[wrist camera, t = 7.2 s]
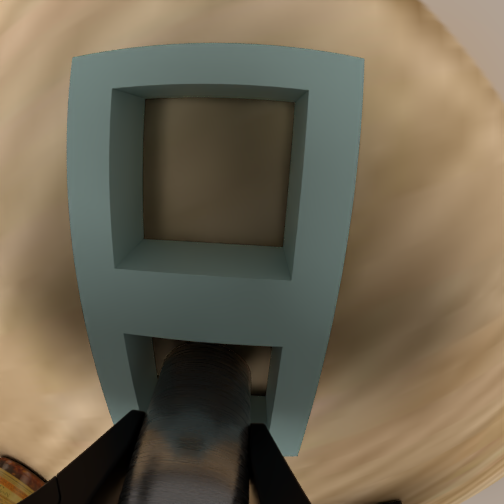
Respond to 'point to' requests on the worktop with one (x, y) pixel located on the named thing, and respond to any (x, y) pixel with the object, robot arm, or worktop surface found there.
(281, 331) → the pegboard
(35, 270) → the worktop surface
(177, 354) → the peg
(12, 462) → the sauce bottle
